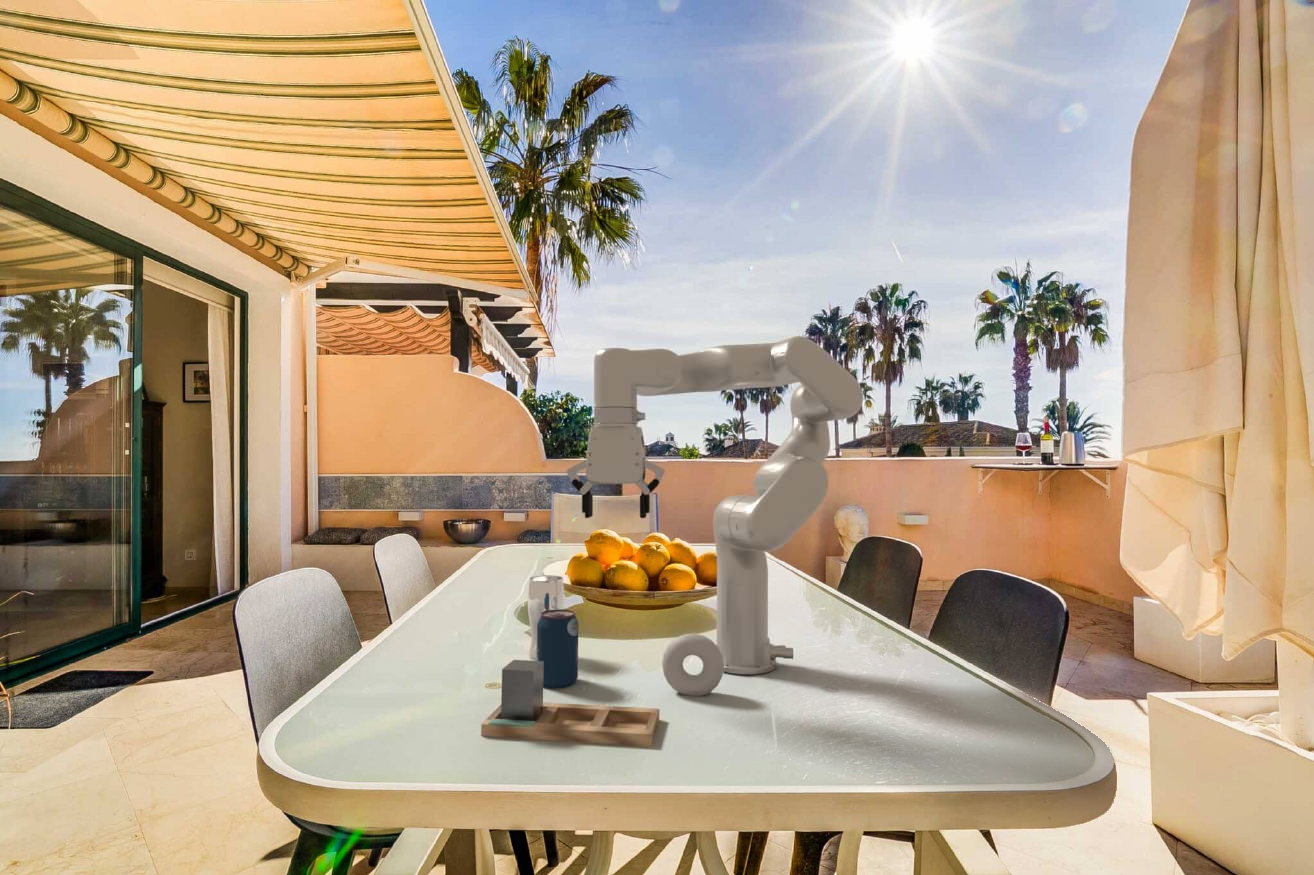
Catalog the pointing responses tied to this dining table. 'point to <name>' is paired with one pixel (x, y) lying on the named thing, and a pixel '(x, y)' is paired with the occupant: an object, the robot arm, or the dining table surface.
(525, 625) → the dining table surface
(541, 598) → the beer glass
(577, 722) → the tray
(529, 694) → the block
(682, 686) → the donut
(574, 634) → the soda can
